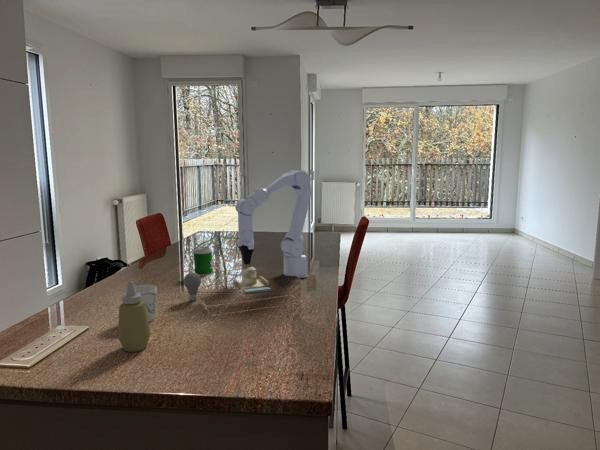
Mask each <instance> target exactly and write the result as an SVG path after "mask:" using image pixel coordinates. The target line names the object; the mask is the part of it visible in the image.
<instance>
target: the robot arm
mask: <svg viewBox="0 0 600 450" xmlns="http://www.w3.org/2000/svg"><path fill="white" fill-rule="evenodd" d="M311 180H312V178H311V176H310V175H309V174H308V171H306V170H295V169H291V170H289V171H287V172H285V173H283V174H282V175H281V176H279V177H278V178H277V179H275V180H274V181H273V182H272V183H270V184H268V185H267V186H266V187H265V188H263V187H259V188H258V187H257V188H256V189H254V192H252V193H250V194H249V195H246V196H244V198H241V199H239V200H238V201H237V203H236V205H235V206H234V209H235V211H236V212H237V223H238V224H237V226H238V227H237V228H238V230H237V231H238V241H235V244H236V245H240V246H237V247H238V250H239V251H240V253H241V258H242V262H243V265H245V266H246V265H250V264H251V260H252V255H253V253H254V251H255V249H256V248H255V240H254V213H255V211H256V209H257V208H258V207H260V206H262V205H263V204H265V203H266V202H268V201H269V199H270V196H271V195H273V194H275V193H276V192H277V191H280V190H281V189H283V188H284V187H286V186H288V187H289V186H290V187H291V188H292V189H294V191H295V193H296V194H297V197H296V201H295V205H294V209H293V213H292V217H291V221H290V226H289V230H288V232H286V234H285V235H284V237H283V240H281V242H280V250H281V251H282V252H283V274H284V276H287V277H296V278H298V279H301V278H308V277H309V275H308V260H307V255H305V254H303V253H304V250H305V247H304V242H305V239H304V237H303V230H304V226H305V222H306V217H307V215H308V209H309V205H310V202H311V197H312V186H311Z"/></svg>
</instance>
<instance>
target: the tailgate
mask: <svg viewBox="0 0 600 450" xmlns="http://www.w3.org/2000/svg"><path fill="white" fill-rule="evenodd" d="M272 291H273V289H272V288H271V287H268V286H262V287H254V288H246V289H243V292H244V293H245V294H247V295H250V294H255V293H256V294H257V293H263V292H264V293H265V292H272Z"/></svg>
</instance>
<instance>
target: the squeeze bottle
mask: <svg viewBox="0 0 600 450" xmlns="http://www.w3.org/2000/svg"><path fill="white" fill-rule="evenodd" d="M135 286H136V285H135V282H134V281H132V280H131V281H128V282H127V288H126V289H127V290H126V293H125V294H124V295H122V298H121V301H122V303H121V304H120V305H119V306H118V326H117V327H118V328H117V330H118V333H117V338H118V340H119V343H120V344H121V346H122V349H123V350H124V351H126V352H129V353H130V352H131V353H134V352H139V351H142V350H145V349H146V347H148V344H149V341H150V336H151V327H150V322H149V320H148V315H147V309H146V304H145V303H144V302H143V301H141V294H140V293H137V292H136V289H135Z"/></svg>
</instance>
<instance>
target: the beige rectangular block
mask: <svg viewBox="0 0 600 450" xmlns="http://www.w3.org/2000/svg"><path fill="white" fill-rule="evenodd" d="M241 274H242V275H241V278H242V279H241V281H242V282H243V283H244V284H245V285H247V284H256V283H257V279H258V277H257V269H256V268H255V267H254V266H250V267H242V268H241Z"/></svg>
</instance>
